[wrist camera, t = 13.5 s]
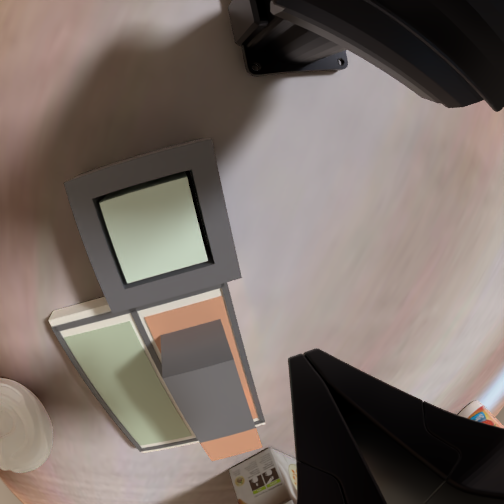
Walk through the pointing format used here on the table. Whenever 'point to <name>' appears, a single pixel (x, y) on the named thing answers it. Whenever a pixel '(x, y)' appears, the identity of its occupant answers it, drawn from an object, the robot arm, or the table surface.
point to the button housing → (139, 171)
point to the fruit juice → (479, 414)
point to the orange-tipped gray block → (209, 389)
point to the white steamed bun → (23, 429)
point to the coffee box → (266, 479)
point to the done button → (154, 227)
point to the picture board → (145, 360)
